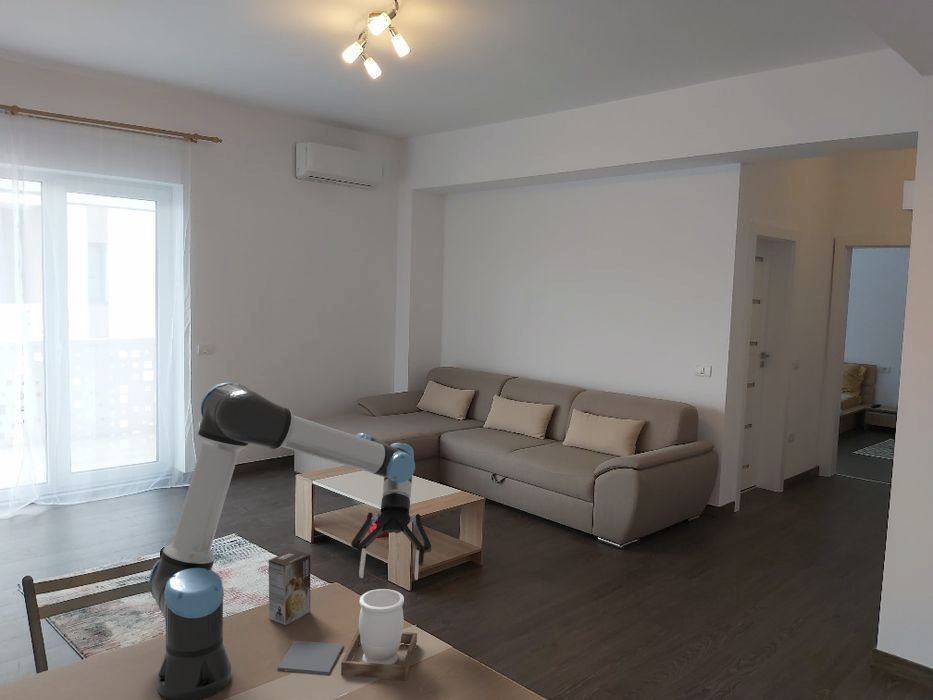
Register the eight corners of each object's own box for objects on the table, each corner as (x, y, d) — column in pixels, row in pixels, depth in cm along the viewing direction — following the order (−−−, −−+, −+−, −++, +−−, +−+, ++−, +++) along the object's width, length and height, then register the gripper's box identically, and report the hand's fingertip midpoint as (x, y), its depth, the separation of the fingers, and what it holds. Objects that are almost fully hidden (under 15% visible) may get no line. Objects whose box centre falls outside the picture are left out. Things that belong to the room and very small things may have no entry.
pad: (277, 669, 160) (277, 667, 160) (295, 642, 172) (295, 640, 171) (329, 674, 159) (329, 671, 158) (343, 646, 170) (343, 644, 170)
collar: (341, 675, 158) (341, 662, 158) (358, 639, 174) (358, 628, 174) (405, 680, 157) (405, 667, 157) (416, 644, 173) (416, 633, 172)
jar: (394, 674, 159) (396, 611, 158) (351, 668, 161) (352, 605, 160) (408, 650, 170) (409, 591, 168) (367, 644, 172) (368, 585, 170)
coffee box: (293, 605, 191) (294, 548, 189) (311, 612, 187) (311, 554, 186) (267, 619, 183) (267, 559, 181) (285, 626, 179) (285, 565, 178)
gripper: (443, 506, 190) (439, 584, 177) (350, 503, 190) (339, 580, 177) (443, 493, 184) (438, 572, 171) (347, 490, 184) (336, 569, 171)
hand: (388, 577), depth 174 cm, fingers open, 13 cm apart
